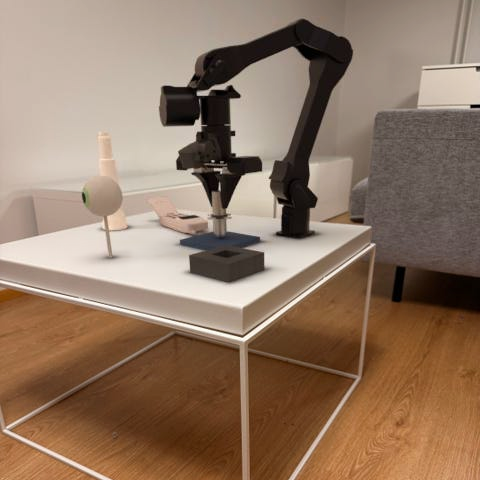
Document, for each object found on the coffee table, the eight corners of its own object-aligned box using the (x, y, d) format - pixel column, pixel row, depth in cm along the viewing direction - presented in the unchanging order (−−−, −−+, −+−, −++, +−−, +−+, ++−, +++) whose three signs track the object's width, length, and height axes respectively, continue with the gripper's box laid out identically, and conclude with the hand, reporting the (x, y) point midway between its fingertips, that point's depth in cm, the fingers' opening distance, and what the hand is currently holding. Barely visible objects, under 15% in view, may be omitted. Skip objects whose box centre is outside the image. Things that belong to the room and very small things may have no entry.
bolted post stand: (219, 230, 101) (218, 188, 98) (240, 234, 98) (239, 190, 94) (199, 235, 97) (197, 191, 94) (220, 239, 94) (218, 193, 90)
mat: (219, 234, 106) (219, 229, 106) (260, 241, 99) (260, 236, 98) (179, 244, 98) (179, 239, 97) (221, 253, 90) (221, 248, 90)
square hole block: (226, 260, 85) (225, 244, 84) (264, 269, 80) (264, 252, 79) (189, 272, 79) (188, 255, 78) (229, 282, 74) (228, 264, 72)
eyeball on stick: (85, 256, 90) (73, 176, 84) (120, 250, 94) (110, 172, 88) (100, 264, 85) (87, 179, 79) (136, 257, 89) (126, 175, 83)
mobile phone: (166, 195, 124) (213, 206, 104) (168, 218, 126) (215, 233, 107) (144, 198, 121) (189, 210, 101) (147, 221, 123) (191, 237, 104)
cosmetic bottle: (120, 230, 112) (109, 132, 103) (98, 230, 113) (84, 132, 105) (131, 225, 117) (121, 131, 109) (110, 225, 119) (98, 132, 110)
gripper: (151, 127, 90) (159, 209, 96) (222, 125, 78) (225, 219, 84) (194, 126, 97) (198, 202, 103) (263, 124, 86) (264, 210, 92)
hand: (219, 208), depth 95 cm, fingers closed on bolted post stand, 3 cm apart
